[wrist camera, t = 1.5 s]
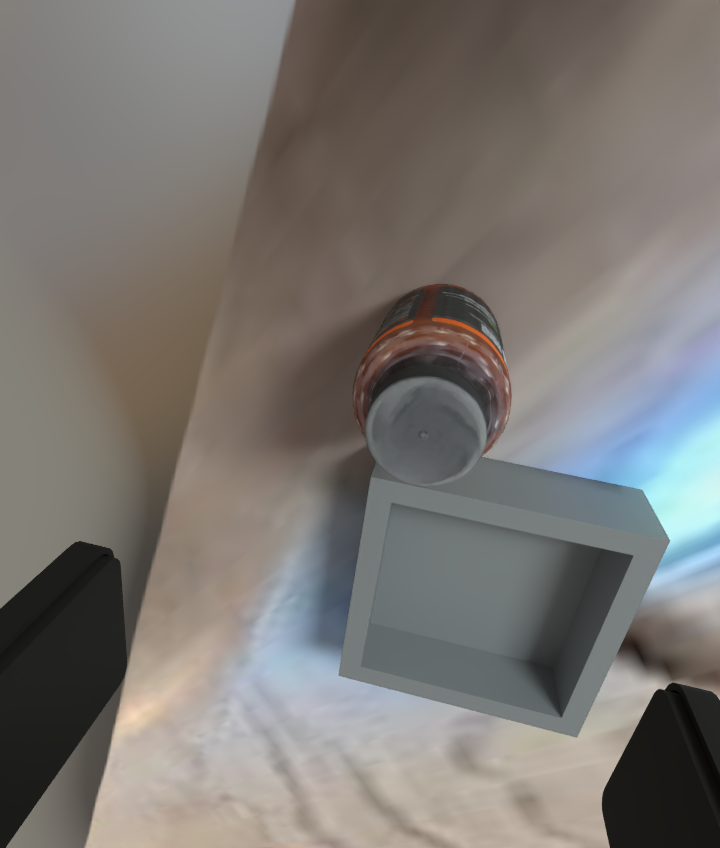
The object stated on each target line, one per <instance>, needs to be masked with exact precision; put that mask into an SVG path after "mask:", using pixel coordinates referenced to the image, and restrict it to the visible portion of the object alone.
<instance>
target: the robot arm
mask: <svg viewBox="0 0 720 848" xmlns="http://www.w3.org/2000/svg"><path fill="white" fill-rule="evenodd" d="M126 668H127V655H126V640H125V625H124V612H123V595H122V580H121V566H120V561H119V560H118V559H116V558H114V555H113V551H112V550H111V549H109V548H106V547H102V546H98V545H93V544H89V543H85V542H81V541H79V542H75V543H74V544H72V545H71V546H70V547H69V548H68V549H66V550H65V551H64V552H63V553H62V554H61V555H60V556H59V557H57V558H56V559H55V560H54V561H53V562H52V563H51V564H50V565H49V566H47V567H46V568H45V569H44V570H43V571H42V572H41V573H40V574H39V575H37V576H36V577H35V578H34V579H33V580H32V581H31V582H30V583H28V584H27V585H26V586H25V587H24V588H23V589H22V590H21V591H20V592H19V593H17V594H16V595H15V596H14V597H13V598H12V599H11V600H10V601H8V602H7V603H6V604H5V605H4V606H3V607H2V608H1V609H0V848H6V846H7V845H8V843H9V842H10V841H11V839H12V838H13V836H14V835H15V833H16V832H17V831H18V829H19V827H20V826H21V825H22V823H23V822H24V821H25V819H26V818H27V816H28V815H29V814H30V812H31V811H32V809H33V808H34V806H35V805H36V803H37V802H38V801H39V799H40V798H41V796H42V795H43V793H44V792H45V791H46V789H47V788H48V786H49V785H50V784H51V782H52V781H53V779H54V778H55V776H56V775H57V774H58V772H59V771H60V769H61V768H62V766H63V765H64V764H65V762H66V761H67V759H68V758H69V757H70V755H71V754H72V752H73V751H74V749H75V748H76V747H77V745H78V743H79V742H80V741H81V739H82V738H83V736H84V735H85V734H86V732H87V731H88V729H89V728H90V727H91V725H92V724H93V722H94V721H95V719H96V718H97V717H98V715H99V714H100V712H101V711H102V710H103V708H104V707H105V705H106V704H107V702H108V701H109V700H110V698H111V697H112V695H113V694H114V692H115V691H116V690H117V688H118V687H119V685H120V683H121V682H122V680H123V678H124V675H125V672H126ZM602 811H603V817H604V822H605V827H606V831H607V836H608V840H609V845H610V848H720V700H719V699H718V697H717V696H716V695H715V694H714V693H713V692H711V691H707V690H702V689H698V688H694V687H690V686H686V685H681V684H677V683H671V684H669V685H668V686H667V688H666V689H665V690H662V689H658V690H657V691H656V692H655V693H654V695H653V697H652V699H651V701H650V703H649V704H648V706H647V708H646V710H645V712H644V714H643V716H642V718H641V720H640V722H639V724H638V725H637V727H636V729H635V731H634V733H633V735H632V737H631V739H630V741H629V743H628V745H627V746H626V748H625V750H624V752H623V754H622V756H621V758H620V760H619V762H618V764H617V766H616V767H615V769H614V771H613V773H612V775H611V777H610V779H609V781H608V783H607V785H606V787H605V789H604V792H603V797H602Z"/></svg>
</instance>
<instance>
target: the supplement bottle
mask: <svg viewBox="0 0 720 848" xmlns="http://www.w3.org/2000/svg"><path fill="white" fill-rule="evenodd" d="M353 407H354V413H355V417H356V420H357V424H358V426H359V428H360V429H361V432H362V434H363V435H364V437H365V438H366V442H367V446H368V449H369V451H370V453H371V455H372V457H373V458H374V460H375V461H376V463H377V464H378V465H379V466H380V467H381V468H382V469H383V470H384V471H385V472H386V473H388V474H389V475H390V476H392V477H394V478H395V479H397V480H399V481H401V482H404V483H407V484H410V485H414V486H420V487H434V486H440V485H446V484H449V483H452V482H454V481H456V480H458V479H460V478H462V477H463V476H465V475H466V474H467V473H469V472H470V470H472V469H473V467H474V466H475V465H476V464H477V462H478V461H479V459H480V458H481V457H482V456H483V455H484V454H485V453H486V452H488V451H489V450H490V449H491V448H492V447H493V445H494V444H495V443H496V442H497V441H498V439H499V438H500V436H501V434H502V433H503V431H504V429H505V426H506V424H507V422H508V419H509V414H510V407H511V385H510V379H509V373H508V368H507V364H506V359H505V353H504V350H503V344H502V340H501V335H500V330H499V327H498V324H497V321H496V319H495V317H494V315H493V313H492V312H491V310H490V309H489V307H488V306H487V305H486V303H485V302H484V301H483V300H482V299H480V298H479V297H478V296H476V295H475V294H474V293H472V292H470V291H468V290H466V289H464V288H462V287H458V286H454V285H447V284H436V285H429V286H425V287H421V288H418V289H416V290H414V291H412V292H411V293H409V294H408V295H406V296H405V297H403V298H402V299H401V300H400V301H399V302H398V303H397V304H396V305H395V306H394V307H393V308H392V310H391V311H390V312H389V314H388V315H387V317H386V319H385V320H384V322H383V324H382V326H381V328H380V329H379V331H378V333H377V335H376V336H375V338H374V340H373V342H372V344H371V345H370V347H369V349H368V351H367V352H366V354H365V356H364V358H363V360H362V361H361V363H360V366H359V368H358V370H357V373H356V378H355V381H354V386H353Z"/></svg>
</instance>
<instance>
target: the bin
mask: <svg viewBox="0 0 720 848" xmlns="http://www.w3.org/2000/svg"><path fill="white" fill-rule="evenodd" d="M669 542H670V540H669V538H668V536H667V534H666V532H665V531H664V529H663V527H662V525H661V523H660V521H659V520H658V518H657V516H656V514H655V512H654V510H653V509H652V507H651V505H650V503H649V501H648V499H647V498H646V496H645V494H644V492H643V490H640V489H635V488H630V487H625V486H620V485H615V484H610V483H605V482H601V481H596V480H591V479H586V478H581V477H576V476H571V475H566V474H561V473H557V472H552V471H547V470H542V469H537V468H532V467H527V466H522V465H517V464H513V463H508V462H503V461H498V460H493V459H488V458H483V457H481V458H480V459H479V461H478V462H477V464H476V465H475V466H474V467H473V469H472V470H470V472H469V473H467V474H466V475H465V476H463V477H462V478H460V479H458V480H456V481H454V482H452V483H449V484H446V485H440V486H434V487H420V486H414V485H410V484H407V483H404V482H401V481H399V480H397V479H395V478H394V477H392V476H390V475H389V474H388V473H386V472H385V471H384V470H383V469H382V468H381V467H380V466H379V465H378V464H377V463H375V466H374V469H373V472H372V475H371V479H370V485H369V491H368V498H367V504H366V510H365V516H364V522H363V528H362V534H361V540H360V547H359V553H358V559H357V565H356V571H355V577H354V583H353V590H352V596H351V602H350V608H349V614H348V620H347V626H346V632H345V639H344V645H343V651H342V657H341V663H340V669H339V675H338V676H342V677H346V678H350V679H353V680H357V681H361V682H365V683H369V684H373V685H377V686H380V687H384V688H388V689H392V690H396V691H400V692H404V693H407V694H411V695H415V696H419V697H423V698H427V699H430V700H434V701H438V702H442V703H446V704H450V705H454V706H457V707H461V708H465V709H469V710H473V711H477V712H481V713H484V714H488V715H492V716H496V717H500V718H504V719H508V720H511V721H515V722H519V723H523V724H527V725H531V726H535V727H538V728H542V729H546V730H550V731H554V732H558V733H561V734H565V735H569V736H573V737H577V736H578V734H579V732H580V730H581V728H582V726H583V724H584V722H585V719H586V717H587V715H588V713H589V711H590V709H591V707H592V705H593V703H594V700H595V698H596V696H597V694H598V692H599V690H600V688H601V686H602V684H603V681H604V679H605V677H606V675H607V673H608V671H609V669H610V667H611V665H612V662H613V660H614V658H615V656H616V654H617V652H618V650H619V648H620V646H621V643H622V641H623V639H624V637H625V635H626V633H627V631H628V629H629V627H630V624H631V622H632V620H633V618H634V616H635V614H636V612H637V610H638V608H639V605H640V603H641V601H642V599H643V597H644V595H645V593H646V591H647V589H648V586H649V584H650V582H651V580H652V578H653V576H654V574H655V572H656V569H657V567H658V565H659V563H660V561H661V559H662V557H663V555H664V553H665V550H666V548H667V546H668V544H669Z"/></svg>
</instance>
